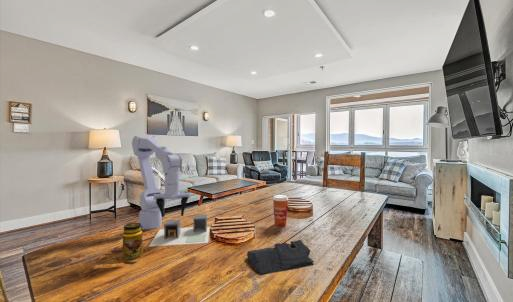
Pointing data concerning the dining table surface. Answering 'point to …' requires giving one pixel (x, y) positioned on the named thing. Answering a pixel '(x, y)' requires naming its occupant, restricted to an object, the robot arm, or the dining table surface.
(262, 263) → the folded black cloth
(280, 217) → the paper cup
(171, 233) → the letter cube
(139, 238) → the condiment
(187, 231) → the board
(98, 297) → the dining table surface
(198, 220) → the right cover
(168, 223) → the left cover
